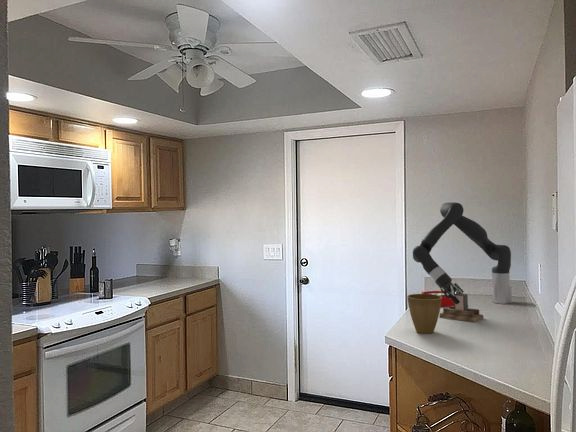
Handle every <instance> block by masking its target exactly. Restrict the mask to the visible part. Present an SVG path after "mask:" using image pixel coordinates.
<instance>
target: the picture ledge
mask: <svg viewBox="0 0 576 432" xmlns="http://www.w3.org/2000/svg"><path fill="white" fill-rule="evenodd" d="M442 309H443V310H442V312H439V318H443V319H447V320H448V319H449V320H456V321H463V322H468V323H469V322H470V323H476V322H479V321H481V320H483V319H484V314H481V313H480V309H476V308H470V307H468V311H464V310H456V309H454V306H448V308H447V307H444V308H443V307H442Z"/></svg>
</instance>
